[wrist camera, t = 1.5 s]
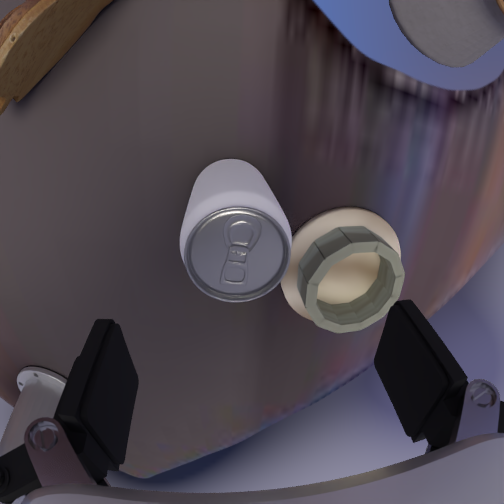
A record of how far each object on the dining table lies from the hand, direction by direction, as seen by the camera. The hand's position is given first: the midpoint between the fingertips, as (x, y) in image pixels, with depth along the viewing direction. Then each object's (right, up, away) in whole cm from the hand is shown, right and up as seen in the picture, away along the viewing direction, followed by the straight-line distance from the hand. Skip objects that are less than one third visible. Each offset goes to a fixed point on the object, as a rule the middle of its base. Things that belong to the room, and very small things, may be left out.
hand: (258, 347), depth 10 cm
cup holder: (+9, +2, +21) cm, 23 cm away
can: (-2, +8, +17) cm, 19 cm away
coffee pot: (+20, +29, +9) cm, 37 cm away
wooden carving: (-16, +22, +9) cm, 29 cm away
